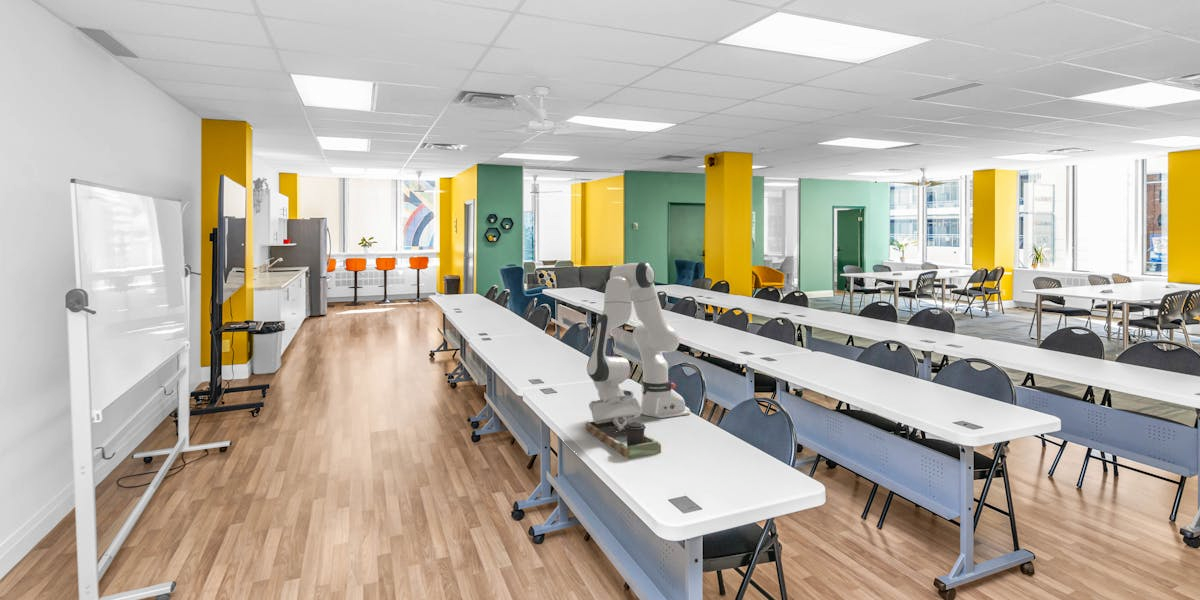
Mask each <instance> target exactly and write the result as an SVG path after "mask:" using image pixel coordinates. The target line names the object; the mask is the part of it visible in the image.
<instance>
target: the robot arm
mask: <svg viewBox="0 0 1200 600" xmlns="http://www.w3.org/2000/svg"><path fill="white" fill-rule="evenodd" d="M655 276H656V275H655V270H654V268H653V266H652V264H650V263H648V262H632V263H631V262H627V263H625V264H620V265H613V266H610V267H608V268H606V270H605V271H604V274H603V282H604V285H605V291H604V297H603V299H604V300H603V301H604V302H603V310H602V313H601V315H599V316H598V317H597V319H596V322H595V327H594V332H593V339H592V345H591V350H590V356H589V359H588V362H587V365H586V370H587V371H586V372H587V375H588V376H589V378H590V379H591V380H592V382H593V385H594V387H595V388H596V390H597V394H598V398H599V400H598V399H597V400H592V401H590V402H589V403H588V407H589V410H590V412H591V416H592V420H593V421H592V422H595V423H596V424H600V423H606V422H612V421H613V423H614V424H615V425H616V426H617V427H618V428H617V427H616V428H617V429H619V430H620V431H622V430H625V428H624V426H625V425H626V424H627V420H630V419H635V418H636V419H637V418H639V417H640V416H641V414H642V415H644V416H646V417H653V418H654V417H655V418H658V419H664V418H665V419H666V418H672V417H679V416H685V415H686V416H687V415H690V414H691V409H690V408H689V407H687V406H686V402H685V399H684V397H683V396H682V395H680V394H679V393H678V392H676V390H674V388H676V384H675V383H674V382H672V381H669V364H668V361H667V360H666V359H665V357H664V355H663V353H672V352H675V351H676V350H677V349H678V347H679V346H680V339H681V338H680V334H679V333H678V332H677V331H676V330H675V329H674V328H673V327H672V325H671V324H670V323H669V321H668V319H667V318H666V316H665V313H664V312H663V309H662V306H661V301H660V299H659V295H658V292H657V288H656V286H655V283H654V281H655V279H656V278H655ZM632 304H633V307H634V310H635V311H634V312H635V315H636V317H637V318H638V320H639V321H640V322H641V323H642V324H638V325H637V326H636V327H634V329H633V331H632V340H633V342H634V343H635V344H636V346H637V348H638V351H639V354H640V357H641V362H642V381H641V393H642V395H641V396H642V397H641V403H639V401H638V399H637V398H636V397H635V396H634V392H633V391H632V390H628V389H627V390H626V389H622V388H620V387H619V385H620V384H622V383H624V381H626V380H628V378H629V377H630V375H631V373H632V367H631V363H630V361H629V360H628V359H627V358H626V357H621V356H608V355H606V351H607V350H606V349H607V344H608V343H607V342H608V338H609V334H610V332H611V331H612V330H614V329H616V328H618V327H621V326H623V325H625V324H626V323H628V322H629V319H630V318H631V316H632ZM618 420H620V421H622V422H623V424H620V423H619V422H618Z"/></svg>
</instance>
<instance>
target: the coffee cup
mask: <svg viewBox="0 0 1200 600" xmlns="http://www.w3.org/2000/svg"><path fill="white" fill-rule="evenodd" d="M624 428H625V432H626V436H625V437H626V439H625V440H626V447H628V446H631V445H637V444H643V439H644V435H645V431H646V425H645V424H644V423H641V422H634V421H633V422H629V423H626V425H625V426H624ZM625 432H624V433H625Z"/></svg>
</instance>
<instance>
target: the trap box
mask: <svg viewBox="0 0 1200 600" xmlns="http://www.w3.org/2000/svg"><path fill="white" fill-rule="evenodd" d="M618 422H619V423H620V424H623V422H622V421H621V420H618ZM613 426H614V427H615V426H616V425H615V424H614V423H613V421H612V422H606V423H600V424H596V423H595V422H594V421H589V422H585V431H586V430H587V432H588V433H589V432H590V433H589V434H590V435H592V434H593V435H592V436H594V437H595V436H596V437H595V438H596V439H598V440H599V441H601V442H602V443H604V444H606V446H609V447H610V448H611V449H613V450H614V451H616V452H617V453H618V454H620V455H622V456H623V457H625V459H632V458H636V457H637V458H638V457H641V456H646V455H648V456H649V455H653V454H659V453H661V452H662V443H660V442H659V441H657V440H656V439H654V438H652V437H651V436H649V435H647V434H644V439H643V444H637V445H631V446H628V447H627V445H625V444H623V443H622V442H620V441H618V439H615V438H614V437H613V438H611V437H610V436H608V435H607V434H605V433H604V432H602V431H601V430H599V429H600V428H601V429H604V428H610V427H613ZM616 428H617V429H618V427H617V426H616ZM621 431H622V432H623V431H624V433H626V432H625V430H621Z"/></svg>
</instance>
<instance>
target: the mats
mask: <svg viewBox="0 0 1200 600" xmlns="http://www.w3.org/2000/svg"><path fill="white" fill-rule="evenodd" d="M599 430H601V431H602V432H604V433H605V434H607V435H608V436H610V437H611V438H613V439H614V438H617V437H624V436H625V437H626V433H625V432H623V431H622V430H619V429H618V428H617V427H615V426H614V427H608V428H601V429H599ZM616 431H617V432H616Z"/></svg>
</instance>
